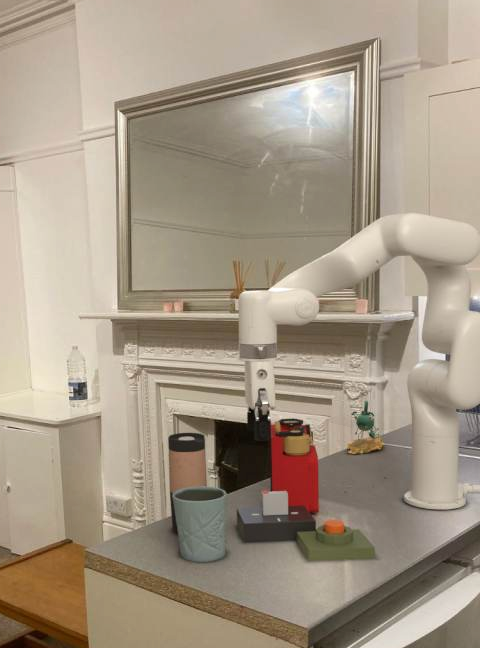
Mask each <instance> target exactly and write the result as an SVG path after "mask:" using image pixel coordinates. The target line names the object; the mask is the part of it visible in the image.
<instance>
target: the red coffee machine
mask: <svg viewBox="0 0 480 648" xmlns="http://www.w3.org/2000/svg"><path fill="white" fill-rule="evenodd" d="M310 425H311V424H309V423H308V424H304V419H300V418H295V417H293V418H281V419H279V420H277V421H275V422H274V423H271V440H270V441H268V447H269V474H270V475H269V476H270V477H269V479H270V490H269V492H272V491H287V493H288V506H305V507H306V509H307V510H308V511H309V512H310V514H312V513H313V514H314V513H315V514H316V513H317V514H319V513H320V512H319V510H320V500H319V498H320V496H319V494H320V493H319V488H320V487H319V486H320V485H319V455H318V451H317V448H316V445H314V444H311V443H313V436H312V427H311V426H310Z"/></svg>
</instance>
